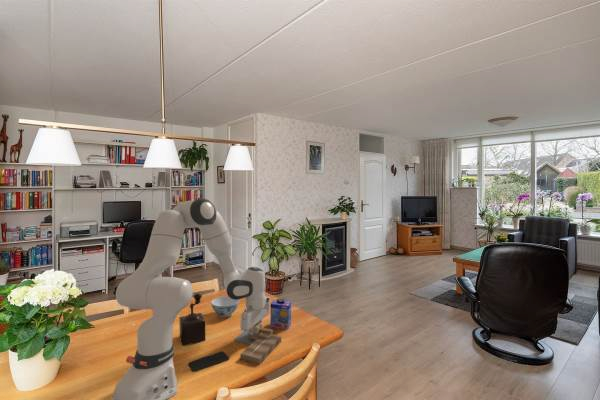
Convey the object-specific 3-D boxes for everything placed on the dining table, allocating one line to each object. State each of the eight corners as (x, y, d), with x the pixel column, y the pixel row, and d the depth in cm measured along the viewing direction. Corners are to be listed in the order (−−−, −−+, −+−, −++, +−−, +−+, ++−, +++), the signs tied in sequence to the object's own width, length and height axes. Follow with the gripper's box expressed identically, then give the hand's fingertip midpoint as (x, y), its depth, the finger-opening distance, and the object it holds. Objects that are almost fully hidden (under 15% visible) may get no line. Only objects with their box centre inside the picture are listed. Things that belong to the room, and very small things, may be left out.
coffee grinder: (207, 340, 138) (207, 302, 138) (181, 346, 133) (181, 306, 132) (201, 326, 152) (201, 291, 151) (177, 331, 147) (177, 294, 146)
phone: (187, 362, 120) (223, 350, 129) (187, 364, 120) (223, 352, 129) (192, 371, 114) (230, 358, 123) (192, 373, 114) (230, 360, 123)
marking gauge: (269, 343, 135) (269, 329, 135) (248, 338, 139) (248, 325, 139) (273, 338, 139) (273, 326, 138) (252, 334, 143) (252, 321, 142)
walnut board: (259, 364, 120) (259, 358, 120) (240, 359, 123) (240, 353, 123) (281, 341, 138) (281, 336, 138) (263, 337, 142) (264, 332, 142)
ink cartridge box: (269, 327, 152) (270, 299, 152) (272, 322, 158) (273, 295, 157) (288, 329, 150) (289, 300, 150) (291, 324, 156) (291, 297, 155)
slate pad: (254, 345, 134) (254, 344, 134) (233, 340, 139) (233, 339, 139) (265, 335, 144) (265, 334, 144) (245, 331, 148) (245, 330, 148)
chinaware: (244, 314, 167) (244, 300, 167) (221, 323, 156) (221, 308, 156) (228, 307, 177) (228, 294, 177) (205, 314, 166) (205, 301, 166)
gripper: (249, 311, 128) (249, 343, 129) (271, 296, 147) (271, 324, 148) (236, 309, 131) (236, 340, 131) (260, 294, 150) (260, 321, 150)
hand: (255, 331), depth 140 cm, fingers closed on marking gauge, 4 cm apart
